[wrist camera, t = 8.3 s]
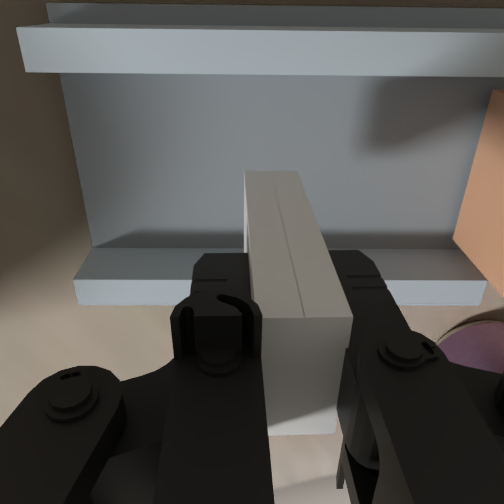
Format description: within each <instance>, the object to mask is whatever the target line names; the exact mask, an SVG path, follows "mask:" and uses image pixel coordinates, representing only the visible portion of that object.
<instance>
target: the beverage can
mask: <svg viewBox="0 0 504 504" xmlns="http://www.w3.org/2000/svg"><path fill="white" fill-rule="evenodd" d="M436 344H437V345H438V347H439V348H440V349H441V350H442V351H443V352H444V353H445V355H446V357H447V358H448V360H449V361H450V362H453V363H456V364H460V365H463V366H467V367H472V368H477V369H482V370H486V371H491V372H496V373H501V374H503V371H504V322H501V321H494V320H484V321H476V322H471V323H468V324H465V325H462V326H459V327H457V328H455V329H453V330H452V331H450V332H448V333H447V334H445V335H444V336H443V337H442V338H440V339H439V340H438V341H437V342H436Z"/></svg>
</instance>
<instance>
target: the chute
mask: <svg viewBox="0 0 504 504" xmlns="http://www.w3.org/2000/svg"><path fill="white" fill-rule="evenodd" d="M46 8H47V13H48V18H49V23H48V24H40V25H31V26H23V27H16V31H17V36H18V40H19V44H20V49H21V53H22V58H23V62H24V66H25V71H26V72H44V73H59V76H60V81H61V86H62V91H63V96H64V102H65V107H66V112H67V117H68V122H69V128H70V133H71V138H72V143H73V148H74V154H75V159H76V164H77V169H78V174H79V180H80V185H81V190H82V195H83V200H84V205H85V211H86V216H87V221H88V226H89V231H90V237H91V242H92V247H93V248H92V250H91V251H90V253H89V254H88V256H87V258H86V259H85V261H84V263H83V264H82V266H81V267H80V269H79V271H78V272H77V274H76V276H75V277H74V279H73V282H74V287H75V291H76V295H77V300H78V304H79V305H177V304H179V303H180V302H181V301H182V300H184V299H185V298H186V297H188V296H190V288H191V282H192V274H193V266H194V264H195V263H196V262H197V261H198V260H199V259H200V258H201V257H202V255H203V254H204V253H244V171H298V174H299V177H300V179H301V182H302V184H303V187H304V190H305V192H306V195H307V197H308V200H309V203H310V205H311V208H312V210H313V213H314V216H315V218H316V221H317V224H318V226H319V229H320V231H321V234H322V237H323V239H324V242H325V244H326V247H327V250H359V251H361V252H362V253H363V254H365V255H366V256H367V257H369V258H370V259H371V260H373V261H374V263H375V265H376V267H377V268H378V270H379V272H380V274H381V278H383V279H384V281H385V283H386V285H387V290H389V291H390V292H391V294H392V296H393V298H394V300H395V302H396V304H397V305H414V306H480V303H481V300H482V297H483V294H484V291H485V288H486V285H487V282H488V280H487V279H486V278H485V277H484V276H483V274H482V273H481V272H480V271H479V270H478V269H477V267H476V266H475V265H474V264H473V263H472V262H471V261H470V259H469V258H468V257H467V256H466V255H465V254H464V252H463V251H462V250H461V248H460V247H459V246H458V245H457V244H456V243H455V242H454V240H453V235H454V231H455V228H456V224H457V220H458V216H459V213H460V209H461V205H462V202H463V198H464V194H465V190H466V187H467V183H468V179H469V175H470V172H471V168H472V164H473V160H474V157H475V153H476V149H477V145H478V142H479V138H480V134H481V131H482V127H483V123H484V119H485V116H486V112H487V108H488V104H489V101H490V97H491V93H492V89H495V90H504V8H439V7H360V6H281V5H202V4H123V3H46Z"/></svg>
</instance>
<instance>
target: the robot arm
mask: <svg viewBox="0 0 504 504" xmlns="http://www.w3.org/2000/svg"><path fill="white" fill-rule="evenodd" d="M170 322H171V332H172V342H173V351H174V358H173V359H172V360H171V361H170V362H169V363H168V364H167V365H165V366H163V367H161V368H160V369H158V370H156V371H154V372H151V373H148V374H146V375H143V376H139V377H136V378H132V379H128V380H125V381H121V382H120V380H119V379H118V378H117V377H116V376H115V375H114V374H113V373H112V372H111V371H109V370H106V369H103V368H101V367H98V366H76V367H72V368H69V369H65V370H61V371H59V372H57V373H55V374H53V375H51V376H49V377H47V378H45V379H44V380H42V381H41V382H40V383H39V384H38V385H37V386H36V387H34V388H33V389H32V390H31V391H30V392H29V393H28V394H27V396H26V397H25V398H24V399H23V400H22V402H21V403H20V404H19V405H18V406H17V408H16V409H15V410H14V411H13V413H12V414H11V415H10V416H9V417H8V419H7V420H6V421H5V422H4V424H3V425H2V426H1V427H0V504H274V494H273V483H272V472H271V461H270V449H269V438H268V436H276V435H310V434H335V429H336V422H337V416H338V417H339V421H340V425H341V429H342V433H343V442H342V447H341V453H340V459H339V465H338V470H337V476H336V480H337V481H336V482H337V483H336V486H337V489H343V484H344V479H345V480H346V484H347V488H348V493H349V497H350V501H351V504H504V371H503V374H501V373H496V372H491V371H486V370H482V369H477V368H472V367H467V366H463V365H460V364H456V363H453V362H450V361H449V360H448V358H447V357H446V355H445V353H444V352H443V351H442V350H441V349H440V348H439V347H438V345H437V344H436V343H435V342H433V341H432V340H430V339H429V338H427V337H425V336H424V335H422V334H420V333H417V332H415V331H412V330H411V329H410V328H409V326H408V324H407V322H406V320H405V318H404V316H403V315H402V313H401V311H400V309H399V307H398V305H397V304H396V302H395V300H394V298H393V296H392V294H391V292H390V291H389V290H387V285H386V283H385V281H384V279H383V278H381V274H380V272H379V270H378V268H377V267H376V265H375V263H374V261H373V260H371V259H370V258H369V257H367V256H366V255H365V254H363V253H362V252H361V251H359V250H327V247H326V244H325V242H324V239H323V237H322V234H321V231H320V229H319V226H318V224H317V221H316V218H315V216H314V213H313V210H312V208H311V205H310V203H309V200H308V197H307V195H306V192H305V190H304V187H303V184H302V182H301V179H300V177H299V174H298V171H244V253H204V254H203V255H202V257H201V258H200V259H199V260H198V261H197V262H196V263H195V264H194V266H193V274H192V282H191V288H190V296H188V297H186V298H185V299H184V300H182V301H181V302H180V303H179V304H177V305H176V306H175V308H174V310H173V312H172V314H171V316H170Z"/></svg>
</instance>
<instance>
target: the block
mask: <svg viewBox="0 0 504 504" xmlns="http://www.w3.org/2000/svg"><path fill="white" fill-rule="evenodd" d="M453 240H454V242H455V243H456V244H457V245H458V246H459V247H460V248H461V250H462V251H463V252H464V253H465V254H466V255H467V257H468V258H469V259H470V260H471V261H472V262H473V263H474V265H475V266H476V267H477V268H478V269H479V270H480V272H481V273H482V274H483V275H484V276H485V277H486V278H487V280H488V281H489V282H490V283H491V284H492V285H493V287H494V288H495V289H496V290H497V291H498V292H499V293H500V295H501V296H502V297H503V298H504V90H495V89H492V93H491V97H490V101H489V104H488V108H487V112H486V116H485V119H484V123H483V127H482V131H481V134H480V138H479V142H478V145H477V149H476V153H475V157H474V160H473V164H472V168H471V172H470V175H469V179H468V183H467V187H466V190H465V194H464V198H463V202H462V205H461V209H460V213H459V216H458V220H457V224H456V228H455V231H454V235H453Z"/></svg>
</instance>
